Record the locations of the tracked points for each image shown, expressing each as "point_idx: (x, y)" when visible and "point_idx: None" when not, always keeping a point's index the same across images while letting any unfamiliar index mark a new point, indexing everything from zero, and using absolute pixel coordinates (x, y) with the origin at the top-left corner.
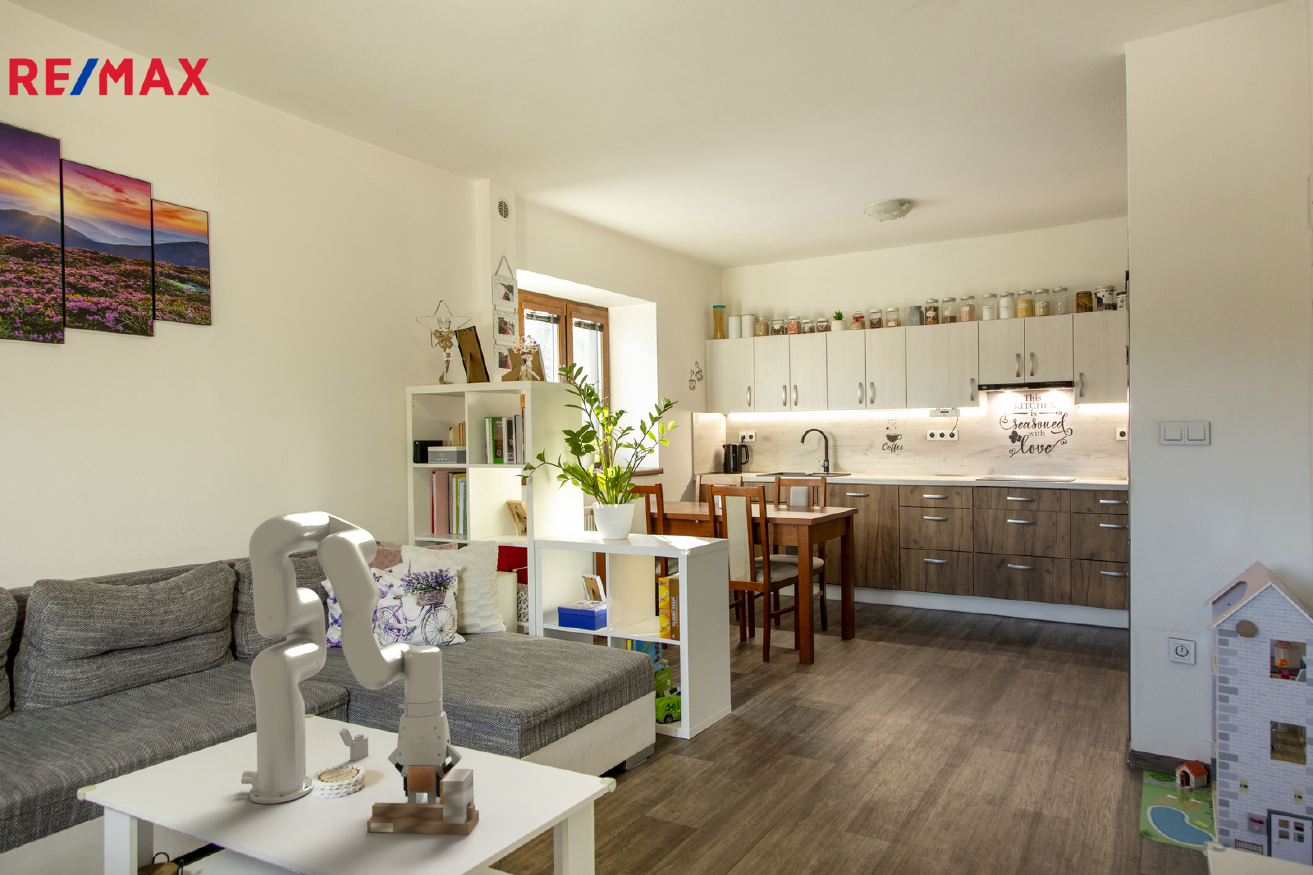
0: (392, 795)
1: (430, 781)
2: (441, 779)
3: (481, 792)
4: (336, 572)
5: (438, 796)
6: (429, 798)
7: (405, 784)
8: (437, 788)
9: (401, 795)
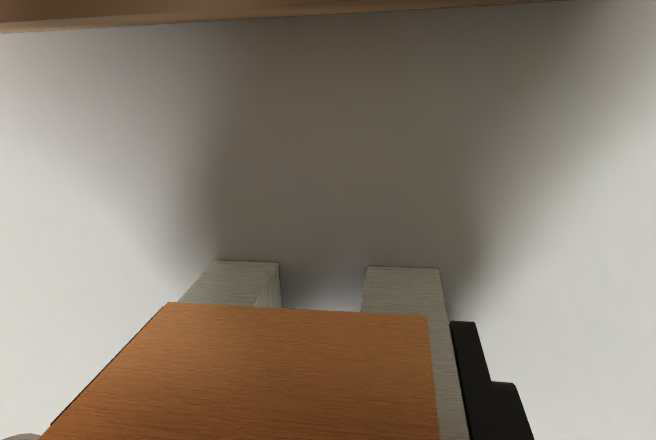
0: (629, 430)
1: (121, 367)
2: None
3: None
4: None
5: None
6: (242, 289)
7: (492, 402)
8: None
9: (552, 426)
